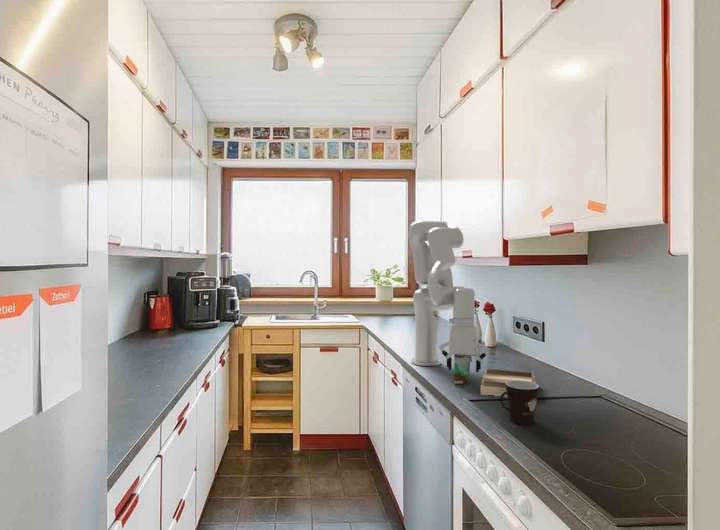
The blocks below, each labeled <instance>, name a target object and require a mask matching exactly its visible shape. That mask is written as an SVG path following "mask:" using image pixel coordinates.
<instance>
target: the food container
mask: <svg viewBox="0 0 720 530" xmlns="http://www.w3.org/2000/svg"><path fill="white" fill-rule="evenodd" d="M453 356H454V359H453V360H454V361H453V362H454V363H453V365H454V366H453V367H454V369H453V370H454V371H453V378H454V379H453V380H454V381H453V382H454V384H455V385H461V386H465V385H464V384H466V385H468V384H469V380H470V371H471V369H470V366H471V363H472V362H473V359H472V356H466V355H453ZM467 383H468V384H467Z"/></svg>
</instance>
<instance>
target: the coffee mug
mask: <svg viewBox="0 0 720 530" xmlns="http://www.w3.org/2000/svg"><path fill="white" fill-rule="evenodd" d="M539 389H540V386H539V384H537V383H536V384H535V383H533V382H528V381H521V380H512V381H507V382H506V392H504V393H503V394H502V395H501V397H499V404H500V405H501V407H503V409H505V410H506V411H508V418H509V419H508V420H509V422H511V423H512V424H515V425H520V426H530V425H534V423H535V418H536V412H537V403H538V395H539ZM505 394H507V397H506V400H507V406H505V404H504V403H503V398H504V397H503V396H504V395H505Z"/></svg>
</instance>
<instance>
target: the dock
mask: <svg viewBox="0 0 720 530" xmlns="http://www.w3.org/2000/svg"><path fill="white" fill-rule="evenodd" d="M512 380H521V381H528V382H533V383H535V384H537V381H536V374H535V372H531V371H521V370H520V371H519V370H509V369H496V368H495V369H494V368H486V372H484V373H483V375H482V379H481V382H480V383H481V384H480V395H481V396H488V395H494V396H493V397H498V396H501V395H502V394H503V393H504V392H506V382H507V381H512ZM504 396H506V397H505V398H507V394H505V395H504Z"/></svg>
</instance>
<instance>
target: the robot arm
mask: <svg viewBox="0 0 720 530" xmlns="http://www.w3.org/2000/svg"><path fill="white" fill-rule="evenodd" d="M407 234H408V241H409V245H410V248H411V251H412V255H413V256H412V257H413V267H414V268H413V271H414V279H415V281H416V284H418V285H420V286H427V287H424V288H418V289H417V290H415V291H414V293H413V297H412V300H413V302H412V303H413V307H414V321H415V323H414V344H415V345H414V357H413V358H411V359H410V361H411V363H412V364H413V365H415V366H420V367H421V366H423V367H424V366H426V367H435V366H439V365H441V364H442V360H441V359H440V358H438V357H439V355H438V352H439V351H438V350H440V352H441V354H442V356H444V357H445V359H446V368H447V369H448V371H451V370H452V367H453V366H452V364H453V363H452V359H453V358H452V355H453V356H454V355H466V356H471V357H474V358H475V359H476V361H475V372H476V373H479V371H480V370H482V369H481V368H482V367H481V366H482V360H483V359H484V358H485V357H486V356H487V354H488V352H489V351H490V349H489V347H488V346H485V345H483V344H481V343H480V342H479V336H478V333H479V332H478V328H477V326H475V320H476V319H475V315H476V314H475V308H476V307H475V303H476V302H475V301H476V299H475V296H476V294H475V293H476V292H475V291H474V289H473V288H472V287H471V288H470V287H465V286H454V280H453V273H452V269H451V268H452V267H453V266H455V264H456V257H455V252H454V250H453V249H460V248H461V247H462V246H463V244H464V240H465V239H464V234H463V232H462V231H461V229H460V228H459V227H457V226H455V225H453V224H452V223H450V222H447V221H434V220H418V221H414V222H412V223H411V224H410V226H409V228H408V233H407ZM451 309H452V318H449V319H448V323H451V324H452V325H451V326H450V329H449V335H448V336H449V337H448V341H446V342H444V343H442V344H440V345H439V338H438V337H439V322H438V319H437V318H438V317H436V316H435V314H434V311H449V310H451ZM438 347H439V349H438ZM447 347H448V352H447V350H446V349H445V348H447ZM479 349H481V350H483V352H482V354H479Z"/></svg>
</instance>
